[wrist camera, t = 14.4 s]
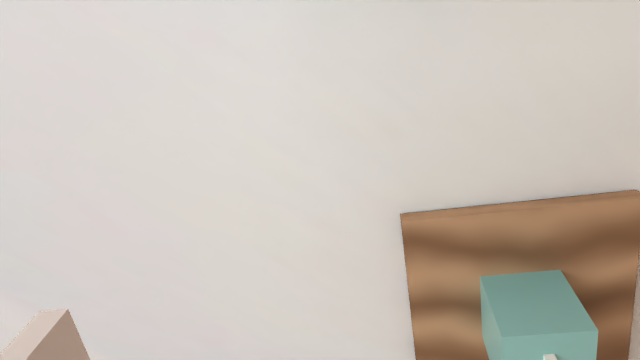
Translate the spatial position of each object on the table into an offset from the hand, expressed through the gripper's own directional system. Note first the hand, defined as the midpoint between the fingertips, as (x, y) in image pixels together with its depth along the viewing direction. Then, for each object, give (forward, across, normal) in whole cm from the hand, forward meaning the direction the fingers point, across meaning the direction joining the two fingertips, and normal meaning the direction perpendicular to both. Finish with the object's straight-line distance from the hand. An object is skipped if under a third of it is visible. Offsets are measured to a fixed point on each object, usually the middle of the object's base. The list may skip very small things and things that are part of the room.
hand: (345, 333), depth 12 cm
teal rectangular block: (+30, +12, -24) cm, 40 cm away
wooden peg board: (+32, +12, -24) cm, 42 cm away
